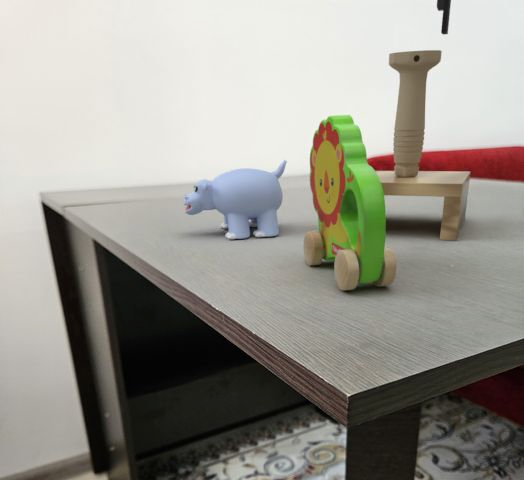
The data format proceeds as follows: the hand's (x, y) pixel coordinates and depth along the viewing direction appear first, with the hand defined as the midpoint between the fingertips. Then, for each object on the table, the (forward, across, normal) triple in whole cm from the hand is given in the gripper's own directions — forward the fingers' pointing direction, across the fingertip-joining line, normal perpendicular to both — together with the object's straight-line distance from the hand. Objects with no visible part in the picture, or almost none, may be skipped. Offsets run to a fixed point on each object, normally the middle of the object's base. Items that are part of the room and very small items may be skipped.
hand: (488, 29), depth 84 cm
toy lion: (+27, +9, +52) cm, 59 cm away
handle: (+20, +7, +27) cm, 34 cm away
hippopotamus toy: (+27, +29, +36) cm, 53 cm away
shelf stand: (+27, +7, +27) cm, 39 cm away
